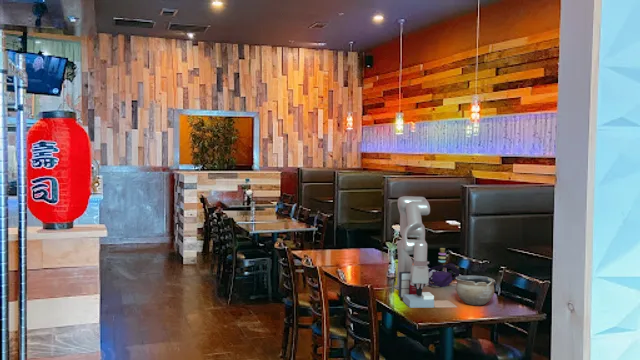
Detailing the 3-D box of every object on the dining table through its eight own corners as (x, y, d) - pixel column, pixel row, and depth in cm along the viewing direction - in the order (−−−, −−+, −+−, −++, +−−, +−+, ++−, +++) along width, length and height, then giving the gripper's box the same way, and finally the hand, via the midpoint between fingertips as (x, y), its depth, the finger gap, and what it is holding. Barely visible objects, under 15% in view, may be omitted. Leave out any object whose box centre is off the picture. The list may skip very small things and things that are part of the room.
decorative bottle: (456, 283, 379) (457, 246, 378) (460, 290, 358) (462, 251, 357) (422, 281, 382) (424, 245, 381) (425, 288, 361) (426, 250, 360)
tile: (419, 295, 325) (419, 292, 325) (429, 295, 326) (429, 292, 326) (423, 299, 316) (423, 295, 316) (434, 299, 317) (434, 295, 317)
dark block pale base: (400, 298, 334) (401, 273, 334) (398, 296, 338) (399, 271, 338) (418, 297, 336) (418, 272, 336) (415, 295, 340) (416, 271, 340)
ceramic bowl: (466, 309, 312) (467, 282, 312) (448, 299, 333) (448, 274, 333) (501, 307, 318) (502, 281, 318) (481, 298, 339) (481, 273, 339)
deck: (402, 301, 327) (403, 294, 326) (426, 301, 328) (426, 294, 328) (409, 307, 313) (410, 300, 313) (434, 307, 315) (434, 300, 314)
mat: (427, 301, 328) (427, 300, 328) (448, 301, 330) (448, 300, 330) (434, 307, 315) (434, 306, 315) (457, 307, 316) (457, 306, 316)
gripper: (430, 262, 324) (429, 293, 325) (405, 262, 323) (404, 293, 323) (434, 264, 317) (433, 297, 317) (409, 264, 315) (408, 297, 316)
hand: (418, 295), depth 320 cm, fingers closed
